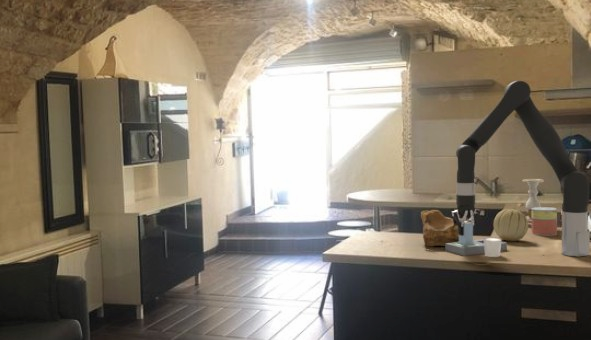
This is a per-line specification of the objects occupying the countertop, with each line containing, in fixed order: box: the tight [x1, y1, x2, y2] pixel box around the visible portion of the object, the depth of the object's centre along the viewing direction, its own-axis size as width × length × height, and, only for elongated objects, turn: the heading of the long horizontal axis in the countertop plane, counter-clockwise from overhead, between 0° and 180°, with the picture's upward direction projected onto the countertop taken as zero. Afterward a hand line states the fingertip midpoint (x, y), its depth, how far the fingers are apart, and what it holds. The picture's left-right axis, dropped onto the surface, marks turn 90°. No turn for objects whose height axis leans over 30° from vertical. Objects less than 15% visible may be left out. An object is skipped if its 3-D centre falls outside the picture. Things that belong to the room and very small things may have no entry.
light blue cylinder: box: [459, 221, 474, 246], centre depth 247 cm, size 4×4×10 cm
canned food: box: [531, 206, 558, 237], centre depth 285 cm, size 11×11×12 cm
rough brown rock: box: [420, 209, 467, 248], centre depth 262 cm, size 23×17×15 cm
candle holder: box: [521, 178, 545, 229], centre depth 306 cm, size 11×11×24 cm
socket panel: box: [444, 238, 508, 257], centre depth 249 cm, size 12×22×4 cm, turn 113°
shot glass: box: [482, 237, 502, 258], centre depth 238 cm, size 7×7×7 cm
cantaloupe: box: [493, 207, 529, 242], centre depth 269 cm, size 15×15×15 cm
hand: (465, 234), depth 247 cm, fingers closed on light blue cylinder, 4 cm apart
